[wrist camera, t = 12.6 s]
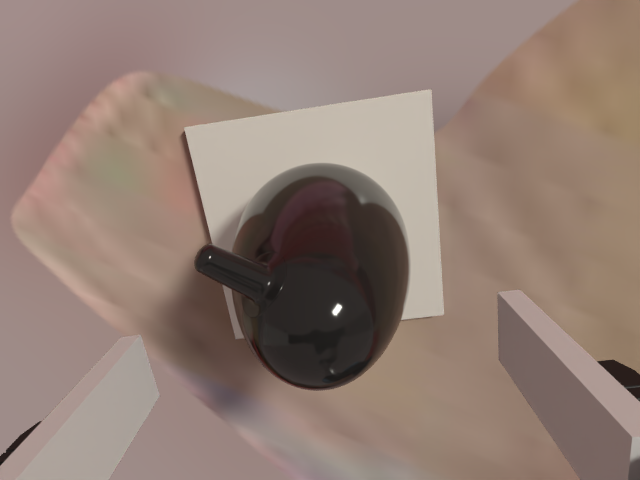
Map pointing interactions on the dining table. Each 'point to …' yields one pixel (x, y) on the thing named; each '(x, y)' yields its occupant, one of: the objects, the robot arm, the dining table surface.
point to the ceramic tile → (338, 148)
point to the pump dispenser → (316, 274)
